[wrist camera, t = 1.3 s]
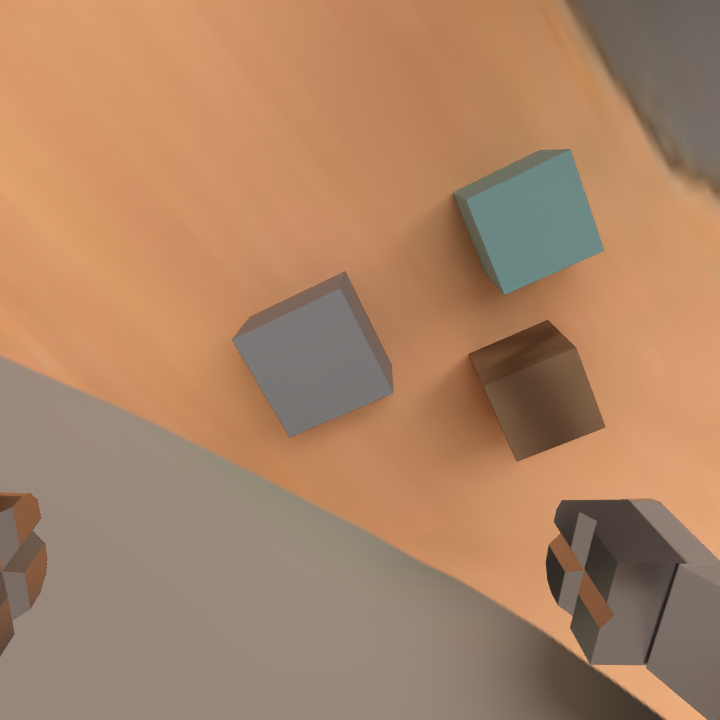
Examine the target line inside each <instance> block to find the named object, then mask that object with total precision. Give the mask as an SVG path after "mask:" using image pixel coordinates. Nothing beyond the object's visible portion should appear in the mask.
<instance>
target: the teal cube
mask: <svg viewBox="0 0 720 720" xmlns="http://www.w3.org/2000/svg"><path fill="white" fill-rule="evenodd" d="M453 195H454V197H455V200H456V202H457V205H458V207H459V210H460V212H461V214H462V217H463V219H464V222H465V224H466V227H467V229H468V231H469V234H470V236H471V239H472V241H473V244H474V246H475V249H476V251H477V253H478V256H479V258H480V261H481V263H482V266H483V268H484V270H485V273H486V275H487V276H488V277H489V278H490V279H491V280H492V282H493V283H494V284H495V285H496V286H497V287H498V288H499V289H500V290H501V292H502V293H503V294H504V295H506V294H508V293H510V292H512V291H515V290H517V289H519V288H521V287H524V286H526V285H528V284H530V283H533V282H535V281H537V280H539V279H542V278H544V277H546V276H548V275H551V274H553V273H555V272H557V271H560V270H562V269H564V268H566V267H569V266H571V265H573V264H575V263H578V262H580V261H582V260H584V259H587V258H589V257H591V256H593V255H596V254H598V253H600V252H602V251H604V249H603V246H602V243H601V240H600V237H599V234H598V231H597V228H596V225H595V222H594V219H593V216H592V213H591V210H590V207H589V204H588V201H587V198H586V195H585V192H584V189H583V186H582V183H581V180H580V177H579V174H578V171H577V168H576V165H575V162H574V159H573V156H572V153H571V150H570V149H567V150H539V151H537V152H535V153H533V154H531V155H529V156H527V157H525V158H523V159H521V160H519V161H517V162H515V163H513V164H511V165H509V166H506V167H504V168H502V169H500V170H498V171H496V172H494V173H492V174H490V175H488V176H486V177H484V178H482V179H480V180H478V181H476V182H474V183H472V184H470V185H468V186H466V187H463V188H461V189H459V190H457V191H455V192H453Z"/></svg>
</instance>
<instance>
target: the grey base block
mask: <svg viewBox="0 0 720 720" xmlns="http://www.w3.org/2000/svg"><path fill="white" fill-rule="evenodd" d="M232 341H233V342H234V344H235V346H236V347H237V349H238V351H239V353H240V354H241V356H242V358H243V359H244V361H245V363H246V364H247V366H248V368H249V370H250V371H251V373H252V375H253V376H254V378H255V380H256V381H257V383H258V385H259V386H260V388H261V390H262V392H263V393H264V395H265V397H266V398H267V400H268V402H269V403H270V405H271V407H272V409H273V410H274V412H275V414H276V415H277V417H278V419H279V420H280V422H281V424H282V425H283V427H284V429H285V431H286V432H287V434H288V436H289V437H292V436H295V435H297V434H299V433H302V432H304V431H306V430H309V429H311V428H313V427H316V426H318V425H320V424H323V423H325V422H327V421H330V420H332V419H334V418H337V417H339V416H341V415H344V414H346V413H348V412H351V411H353V410H355V409H358V408H360V407H362V406H365V405H367V404H369V403H372V402H374V401H376V400H379V399H381V398H383V397H386V396H388V395H390V394H393V383H392V367H391V363H390V361H389V359H388V357H387V355H386V353H385V351H384V349H383V347H382V345H381V343H380V341H379V338H378V336H377V334H376V332H375V330H374V328H373V326H372V324H371V322H370V320H369V318H368V316H367V314H366V312H365V310H364V308H363V306H362V304H361V302H360V300H359V298H358V296H357V294H356V292H355V290H354V288H353V286H352V284H351V282H350V280H349V278H348V276H347V274H346V272H343V273H341V274H339V275H337V276H334V277H332V278H330V279H328V280H326V281H324V282H322V283H320V284H318V285H316V286H314V287H311V288H309V289H307V290H305V291H303V292H301V293H299V294H297V295H295V296H293V297H291V298H289V299H286V300H284V301H282V302H280V303H278V304H276V305H274V306H272V307H270V308H268V309H266V310H263V311H261V312H259V313H257V314H255V315H253V316H251V317H250V318H249V319H248V320H247V321H246V323H245V324H244V325H243V327H242V328H241V329H240V330H239V332H238V333H237V334H236V335H235V337H234V338H233V339H232Z"/></svg>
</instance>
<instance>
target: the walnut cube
mask: <svg viewBox="0 0 720 720" xmlns="http://www.w3.org/2000/svg"><path fill="white" fill-rule="evenodd" d="M469 356H470V358H471V360H472V363H473V365H474V367H475V370H476V372H477V374H478V376H479V379H480V381H481V383H482V385H483V388H484V390H485V392H486V394H487V397H488V399H489V401H490V403H491V406H492V408H493V410H494V412H495V415H496V417H497V419H498V421H499V424H500V426H501V428H502V430H503V432H504V435H505V437H506V439H507V441H508V444H509V446H510V448H511V450H512V452H513V455H514V457H515V459H516V461H520V460H522V459H525V458H528V457H530V456H533V455H535V454H538V453H541V452H543V451H546V450H548V449H551V448H554V447H556V446H559V445H561V444H564V443H567V442H569V441H572V440H574V439H577V438H579V437H582V436H585V435H587V434H590V433H592V432H595V431H598V430H600V429H603V428H605V424H604V422H603V419H602V416H601V414H600V411H599V408H598V405H597V403H596V400H595V397H594V395H593V392H592V389H591V387H590V384H589V381H588V379H587V376H586V373H585V371H584V368H583V365H582V362H581V360H580V357H579V354H578V352H577V349H576V347H575V346H574V345H573V344H572V343H571V342H570V341H569V340H568V339H567V338H566V337H565V336H564V335H563V334H562V333H561V332H560V331H559V330H558V329H557V328H555V327H554V326H553V325H552V324H551V323H550V322H549V321H548V320H547V321H544V322H542V323H540V324H537V325H535V326H533V327H530V328H528V329H526V330H523V331H521V332H519V333H516V334H514V335H512V336H509V337H507V338H505V339H502V340H500V341H498V342H495V343H493V344H491V345H488V346H486V347H484V348H481V349H479V350H477V351H474V352H472V353H470V354H469Z"/></svg>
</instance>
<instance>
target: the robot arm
mask: <svg viewBox="0 0 720 720" xmlns="http://www.w3.org/2000/svg"><path fill="white" fill-rule="evenodd" d="M40 519H41V514H40V509H39V504H38V500H37V499H36V498H35V497H34V496H33V495H32V494H30V493H1V492H0V656H1V654H2V653H3V651H4V650H5V648H6V647H7V645H8V644H9V642H10V640H11V639H12V637H13V636H14V629H13V623H12V621H13V620H14V619H16V618H17V617H19V616H20V615H22V614H23V613H25V612H27V611H28V610H30V609H31V607H32V606H33V604H34V602H35V601H36V599H37V597H38V596H39V594H40V592H41V588H42V585H43V582H44V579H45V575H46V568H47V553H46V545H45V542H43V541H42V540H41V539H40V538H39V537H38V536H37V535H36V534H35V533H34V532H33V531H32V530H33V529H34V528H35V526H36V525H37V523H38V522H39V521H40ZM554 523H555V525H556V526H557V528H558V530H559V531H560V534H559V535H558V536H557V537H556V538H555V539H554V540H553V541H552V542H551V543H550V544H549V547H548V553H547V558H546V570H547V580H548V584H549V587H550V590H551V593H552V595H553V597H554V599H555V601H556V603H557V605H558V606H560V607H561V608H563V609H564V610H565V611H567V612H568V613H570V614H571V615H572V616H573V618H572V622H571V626H570V629H571V630H572V632H573V634H574V636H575V638H576V639H577V641H578V643H579V645H580V647H581V648H582V650H583V652H584V654H585V656H586V658H587V659H588V661H589V663H590V665H647V667H646V668H647V669H648V670H649V671H650V672H651V673H653V674H654V675H655V676H656V677H657V678H658V679H660V680H661V681H662V682H663V683H664V684H666V685H667V686H668V687H669V688H670V689H672V690H673V691H674V692H675V693H676V694H678V695H679V696H680V697H681V698H682V699H683V700H685V701H686V702H687V703H688V704H689V705H691V706H692V707H693V708H694V709H695V710H697V711H698V712H699V713H700V714H701V715H702V716H704V717H705V718H706V719H707V720H720V561H719V560H718V559H717V558H716V557H715V556H714V555H713V554H712V553H711V552H710V551H709V550H708V549H707V548H706V547H705V546H704V545H703V544H702V543H701V542H700V541H699V540H698V539H697V538H696V537H695V536H694V535H693V534H692V533H691V532H690V531H689V530H688V529H687V528H686V527H685V526H684V525H683V524H682V523H681V522H680V521H679V520H678V519H677V518H676V517H675V516H674V515H673V514H672V513H671V512H670V511H669V510H668V509H667V508H666V507H665V506H664V505H663V504H662V503H661V502H658V501H656V500H654V499H651V498H649V499H621V500H562V501H561V503H560V504H559V506H558V508H557V510H556V515H555V519H554Z"/></svg>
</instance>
